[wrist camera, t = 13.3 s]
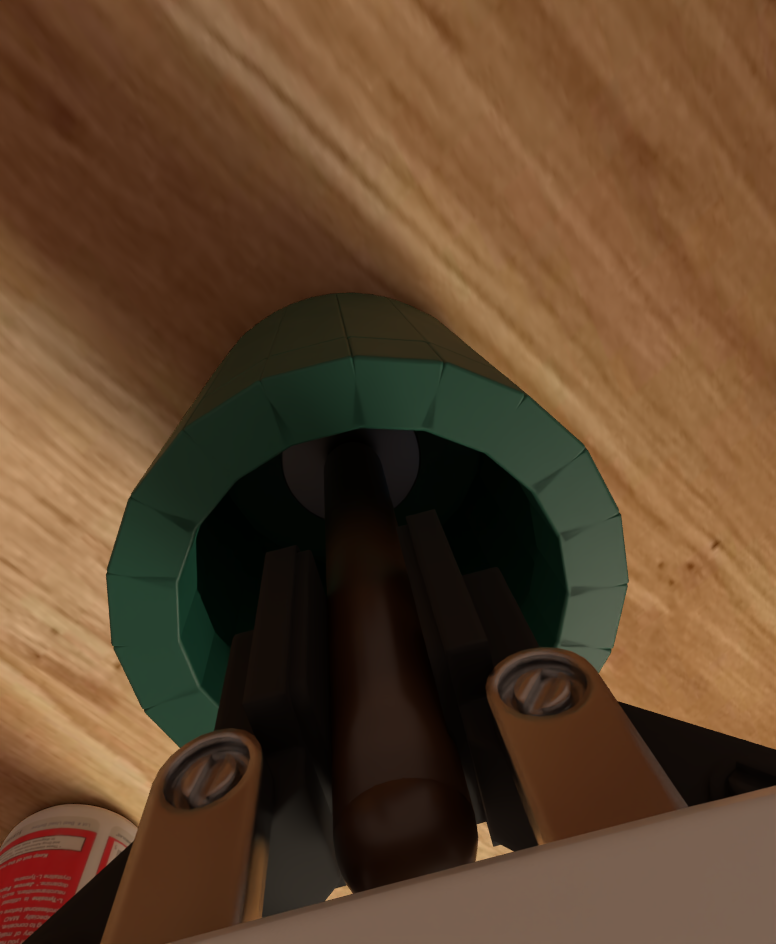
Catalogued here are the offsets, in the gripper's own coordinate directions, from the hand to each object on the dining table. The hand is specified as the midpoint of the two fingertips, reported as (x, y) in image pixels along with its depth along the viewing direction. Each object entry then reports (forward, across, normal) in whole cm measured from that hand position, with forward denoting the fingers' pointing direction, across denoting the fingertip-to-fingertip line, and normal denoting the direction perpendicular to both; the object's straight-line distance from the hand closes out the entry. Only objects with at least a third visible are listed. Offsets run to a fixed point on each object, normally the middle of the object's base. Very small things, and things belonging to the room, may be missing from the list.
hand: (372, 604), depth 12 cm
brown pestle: (+11, 0, 0) cm, 11 cm away
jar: (+12, 0, +1) cm, 12 cm away
